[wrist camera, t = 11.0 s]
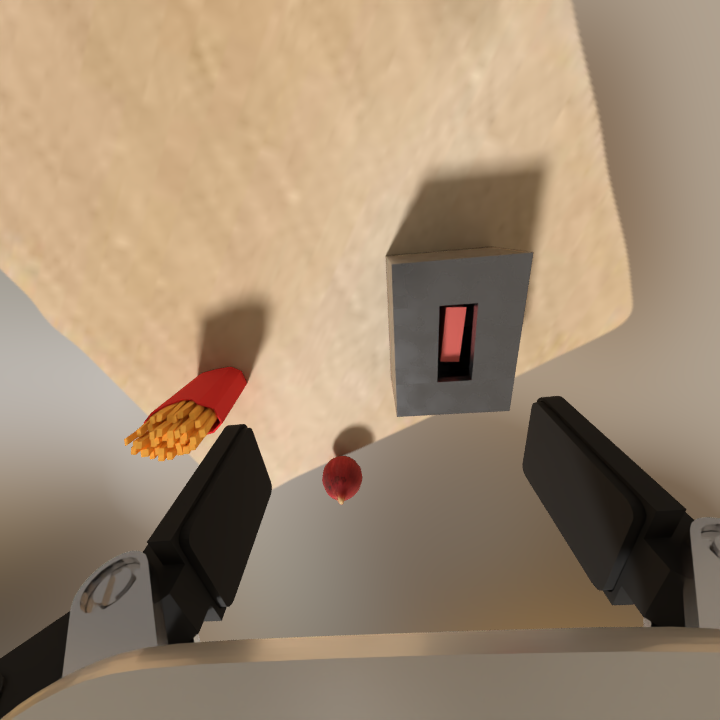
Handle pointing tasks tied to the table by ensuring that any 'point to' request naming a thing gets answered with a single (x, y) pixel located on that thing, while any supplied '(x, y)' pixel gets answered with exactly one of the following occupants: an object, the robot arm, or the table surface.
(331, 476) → the onion
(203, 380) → the french fries
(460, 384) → the grey slotted box
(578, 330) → the table surface
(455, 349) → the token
